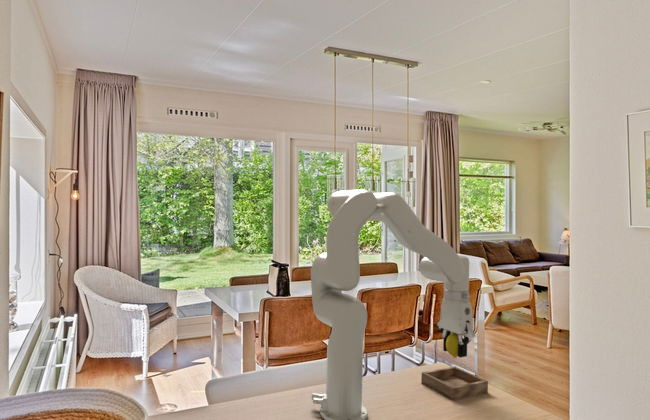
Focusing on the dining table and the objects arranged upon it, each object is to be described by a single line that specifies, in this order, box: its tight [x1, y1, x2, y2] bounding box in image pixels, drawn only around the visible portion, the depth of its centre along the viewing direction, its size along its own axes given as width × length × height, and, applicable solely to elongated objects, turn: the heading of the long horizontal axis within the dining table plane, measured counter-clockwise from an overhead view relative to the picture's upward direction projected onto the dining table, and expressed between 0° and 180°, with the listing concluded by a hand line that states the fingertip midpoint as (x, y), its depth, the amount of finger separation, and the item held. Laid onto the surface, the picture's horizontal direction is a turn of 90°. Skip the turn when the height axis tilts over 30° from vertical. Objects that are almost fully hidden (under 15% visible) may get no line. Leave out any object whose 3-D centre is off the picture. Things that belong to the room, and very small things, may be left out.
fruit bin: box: [420, 366, 489, 401], centre depth 139 cm, size 14×14×4 cm
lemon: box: [446, 332, 460, 359], centre depth 139 cm, size 6×6×8 cm
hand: (454, 353), depth 139 cm, fingers closed on lemon, 5 cm apart
